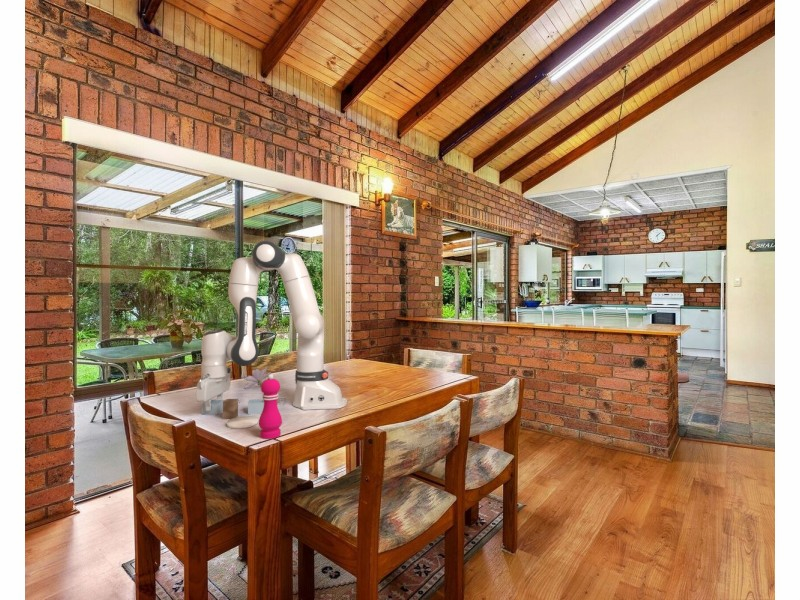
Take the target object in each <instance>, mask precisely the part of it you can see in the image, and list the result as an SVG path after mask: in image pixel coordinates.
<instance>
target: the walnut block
mask: <svg viewBox="0 0 800 600" xmlns="http://www.w3.org/2000/svg"><path fill="white" fill-rule="evenodd" d="M224 400H225V401H223V412H222V420H230V419H232V418H236V417H239V398H227V399H224Z"/></svg>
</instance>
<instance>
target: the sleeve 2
mask: <svg viewBox="0 0 800 600" xmlns="http://www.w3.org/2000/svg"><path fill="white" fill-rule="evenodd" d="M263 407H264V400H263V399H262V398H258V399H257V398H256V399H248V401H247V415H255V414H261V413H262V411H263Z"/></svg>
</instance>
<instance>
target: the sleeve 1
mask: <svg viewBox="0 0 800 600" xmlns="http://www.w3.org/2000/svg"><path fill="white" fill-rule="evenodd" d="M225 400H226V399H222V400H216V399H211V402H210V403H211V405H212V410H210V411H206V406H205V404H204V402H202V403H201V412H200V413H201V414H200V415H212V416H215V415H219V414H221V413H223V401H225Z"/></svg>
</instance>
